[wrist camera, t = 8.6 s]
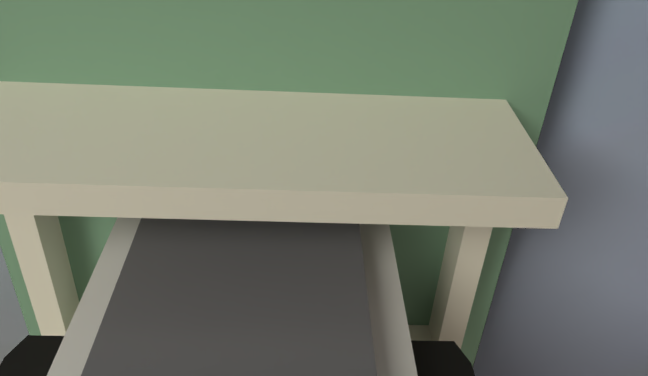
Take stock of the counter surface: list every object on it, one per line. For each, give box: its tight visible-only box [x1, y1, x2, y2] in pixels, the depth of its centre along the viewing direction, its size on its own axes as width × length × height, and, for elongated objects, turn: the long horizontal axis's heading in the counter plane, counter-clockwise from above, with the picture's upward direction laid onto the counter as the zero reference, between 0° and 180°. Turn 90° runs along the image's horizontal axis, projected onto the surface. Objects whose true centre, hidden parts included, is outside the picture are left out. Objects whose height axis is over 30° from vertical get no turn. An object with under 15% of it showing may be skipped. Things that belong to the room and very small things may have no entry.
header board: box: [0, 0, 578, 367], centre depth 13 cm, size 16×12×5 cm
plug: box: [81, 218, 377, 376], centre depth 11 cm, size 4×4×7 cm
